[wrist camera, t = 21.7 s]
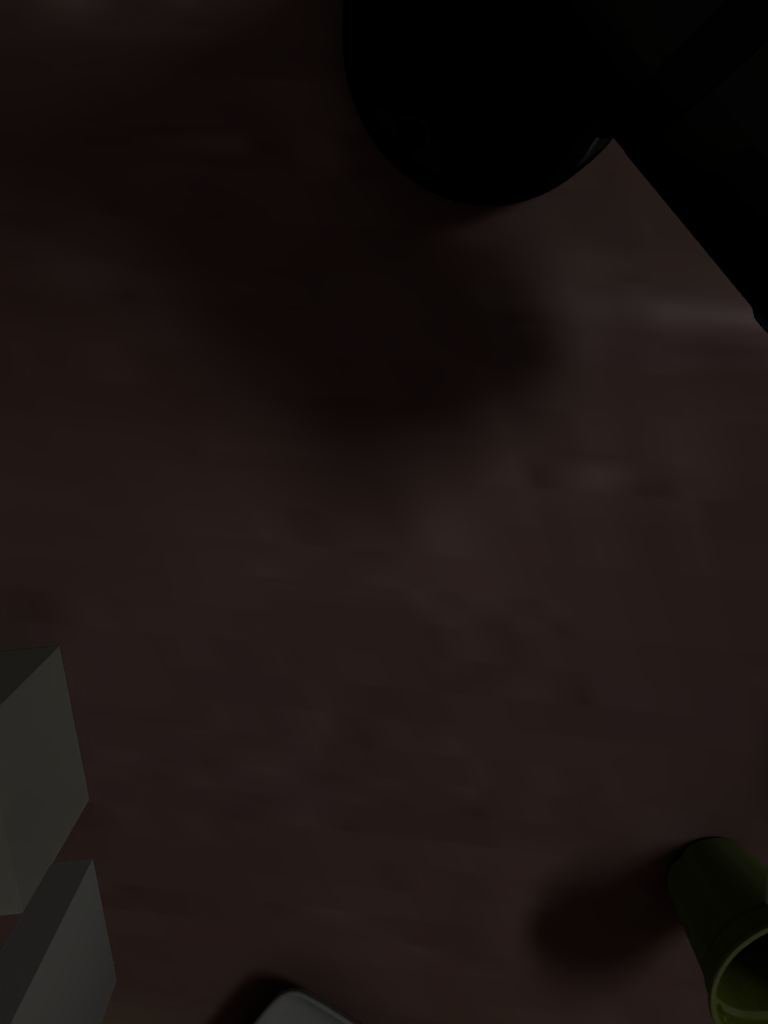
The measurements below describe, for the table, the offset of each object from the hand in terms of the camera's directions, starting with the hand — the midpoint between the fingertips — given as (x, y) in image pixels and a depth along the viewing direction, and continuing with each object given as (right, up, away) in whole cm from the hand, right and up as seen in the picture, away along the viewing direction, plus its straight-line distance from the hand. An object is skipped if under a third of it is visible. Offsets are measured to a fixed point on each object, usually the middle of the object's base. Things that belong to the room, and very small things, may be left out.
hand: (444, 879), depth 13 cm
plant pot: (+21, -18, +33) cm, 43 cm away
